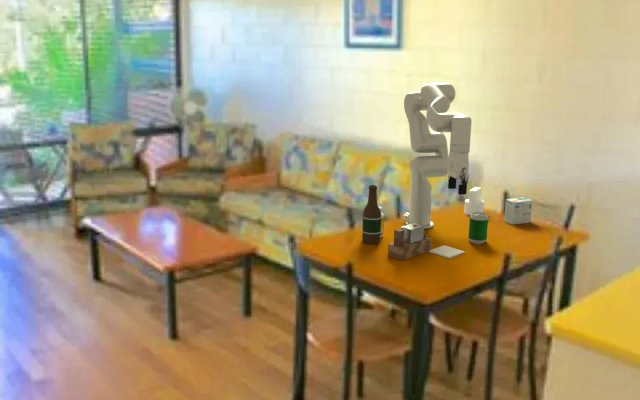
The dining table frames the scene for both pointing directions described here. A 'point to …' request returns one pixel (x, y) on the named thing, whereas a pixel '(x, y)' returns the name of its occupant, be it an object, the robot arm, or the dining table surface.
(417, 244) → the body
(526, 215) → the light bulb box
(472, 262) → the dining table surface
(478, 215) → the soda can
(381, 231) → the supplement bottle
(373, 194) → the beer bottle
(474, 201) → the base with upright slab
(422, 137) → the robot arm
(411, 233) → the grey stone box
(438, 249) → the felt pad
